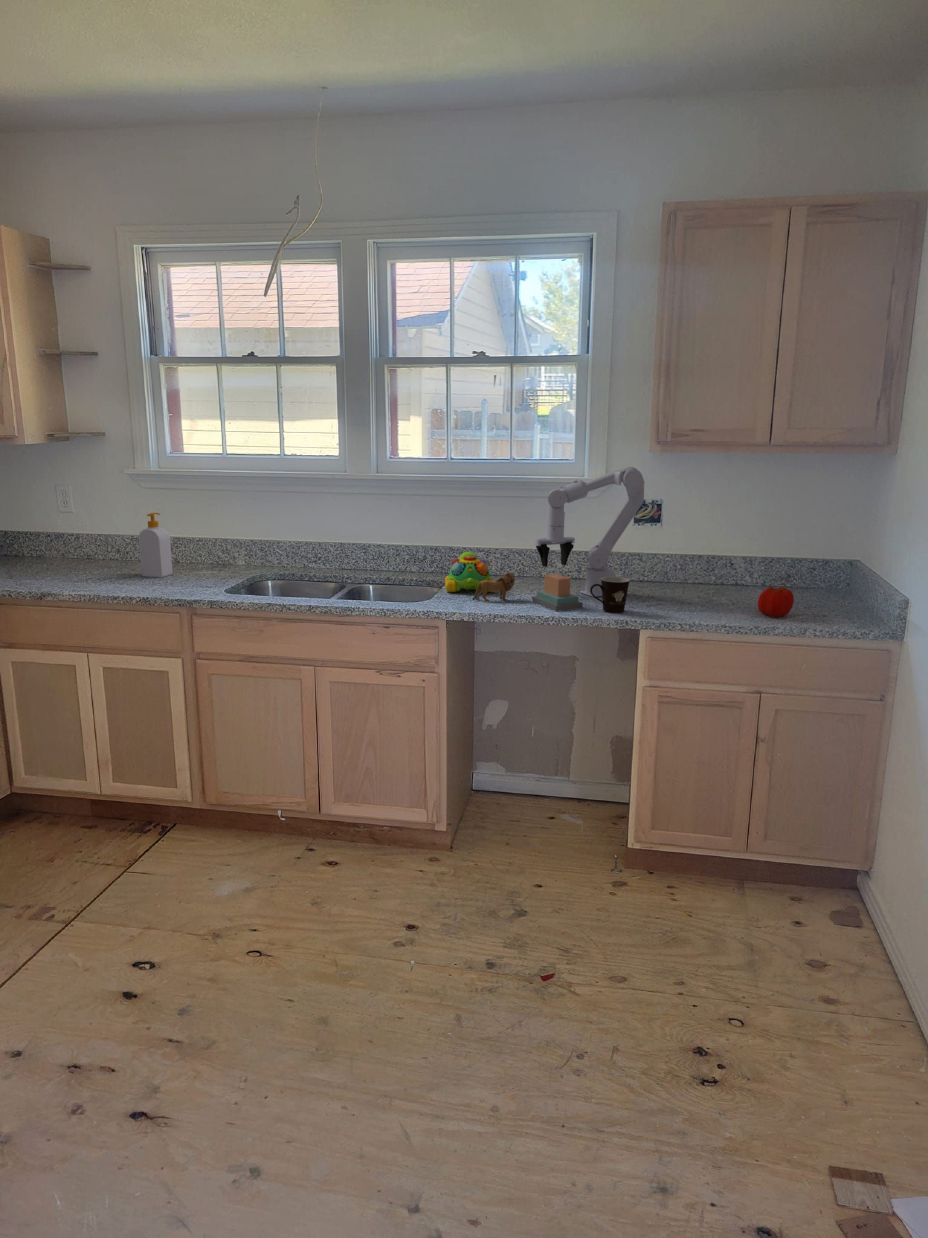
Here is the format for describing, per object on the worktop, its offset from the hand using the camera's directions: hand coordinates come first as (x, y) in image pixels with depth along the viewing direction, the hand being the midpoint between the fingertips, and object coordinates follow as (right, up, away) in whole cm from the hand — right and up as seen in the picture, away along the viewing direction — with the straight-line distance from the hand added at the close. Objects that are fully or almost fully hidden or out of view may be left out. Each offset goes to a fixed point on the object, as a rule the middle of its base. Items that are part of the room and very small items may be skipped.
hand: (554, 565), depth 281 cm
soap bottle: (-143, -2, +25) cm, 146 cm away
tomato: (+65, -17, -26) cm, 72 cm away
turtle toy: (-29, -8, +8) cm, 31 cm away
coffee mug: (+15, -16, -22) cm, 31 cm away
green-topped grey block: (-1, -14, -15) cm, 21 cm away
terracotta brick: (-1, -10, -16) cm, 19 cm away
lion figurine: (-21, -12, -9) cm, 25 cm away
